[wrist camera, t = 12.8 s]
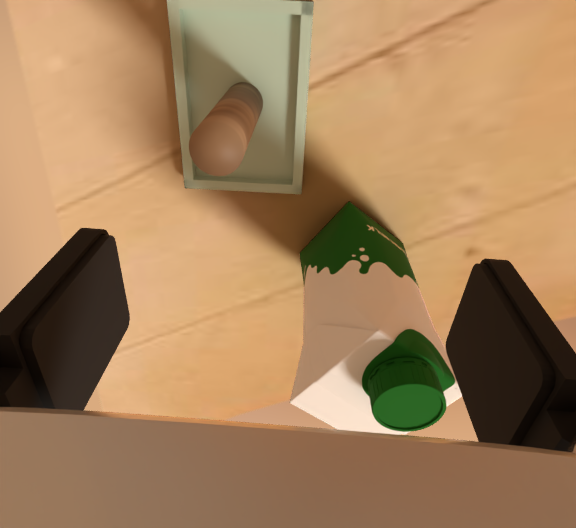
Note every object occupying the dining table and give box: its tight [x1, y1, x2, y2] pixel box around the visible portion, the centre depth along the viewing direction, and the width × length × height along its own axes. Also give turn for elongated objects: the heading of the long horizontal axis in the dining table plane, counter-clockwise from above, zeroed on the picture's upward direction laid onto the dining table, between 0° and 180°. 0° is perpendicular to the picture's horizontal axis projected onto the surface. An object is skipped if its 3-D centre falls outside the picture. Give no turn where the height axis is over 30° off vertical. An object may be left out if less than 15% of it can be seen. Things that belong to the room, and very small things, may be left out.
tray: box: [167, 0, 314, 194], centre depth 33 cm, size 14×10×2 cm
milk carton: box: [290, 202, 462, 435], centre depth 32 cm, size 9×9×20 cm
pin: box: [189, 82, 263, 176], centre depth 28 cm, size 3×3×12 cm
